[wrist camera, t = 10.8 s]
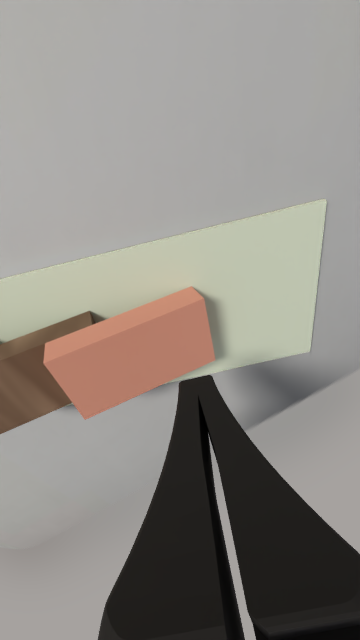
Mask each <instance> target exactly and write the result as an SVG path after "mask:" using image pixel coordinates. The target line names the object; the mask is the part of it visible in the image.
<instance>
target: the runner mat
mask: <svg viewBox="0 0 360 640" xmlns="http://www.w3.org/2000/svg"><path fill="white" fill-rule="evenodd" d="M326 204H327V200H325V199H321V200H317V201H313V202H309V203H305V204H301V205H297V206H293V207H289V208H285V209H281V210H277V211H273V212H269V213H265V214H261V215H257V216H253V217H249V218H245V219H240V220H236V221H232V222H228V223H224V224H220V225H216V226H212V227H208V228H204V229H200V230H196V231H192V232H188V233H184V234H180V235H176V236H172V237H168V238H164V239H160V240H156V241H152V242H148V243H144V244H140V245H136V246H132V247H128V248H124V249H119V250H115V251H111V252H107V253H103V254H99V255H95V256H91V257H87V258H83V259H79V260H75V261H71V262H67V263H63V264H59V265H55V266H51V267H47V268H43V269H39V270H35V271H31V272H27V273H23V274H19V275H15V276H11V277H7V278H3V279H0V344H2V343H5V342H8V341H10V340H13V339H16V338H18V337H21V336H24V335H26V334H29V333H31V332H34V331H37V330H39V329H42V328H45V327H47V326H50V325H53V324H55V323H58V322H61V321H63V320H66V319H69V318H71V317H74V316H77V315H79V314H82V313H85V312H87V311H90V312H91V314H92V316H93V318H94V320H95V322H96V323H98V322H101V321H104V320H106V319H109V318H111V317H114V316H116V315H119V314H122V313H124V312H127V311H129V310H132V309H134V308H137V307H139V306H142V305H145V304H147V303H150V302H152V301H155V300H157V299H160V298H163V297H165V296H168V295H170V294H173V293H175V292H178V291H180V290H183V289H186V288H188V287H191V286H192V287H193V288H194V289H195V290H196V291H197V292H198V293H199V294H200V295H201V296H202V297H203V298H204V300H205V306H206V311H207V316H208V322H209V327H210V333H211V338H212V343H213V349H214V354H215V361H213V362H210V363H208V364H206V365H204V366H202V367H199V368H197V369H195V370H193V371H191V372H188V373H186V374H184V375H182V376H180V377H177V378H175V379H173V380H171V381H169V382H167V383H171V382H176V381H180V380H185V379H189V378H194V377H198V376H203V375H207V374H211V373H216V372H220V371H225V370H229V369H234V368H238V367H243V366H247V365H252V364H256V363H261V362H265V361H269V360H274V359H278V358H283V357H287V356H292V355H296V354H301V353H305V352H310V348H311V339H312V330H313V321H314V312H315V303H316V294H317V285H318V276H319V267H320V258H321V249H322V240H323V231H324V222H325V213H326ZM167 383H164V384H167ZM69 405H73V403H71V404H68V405H66V406H69Z"/></svg>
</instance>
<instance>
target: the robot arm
mask: <svg viewBox="0 0 360 640" xmlns="http://www.w3.org/2000/svg"><path fill="white" fill-rule="evenodd" d="M208 433H209V436H210V440H211V443H212V446H213V450H214V453H215V456H216V460H217V463H218V467H219V472H220V476H221V481H222V486H223V490H224V496H225V501H226V506H227V510H228V515H229V520H230V525H231V530H232V535H233V540H234V545H235V550H236V555H237V560H238V565H239V570H240V575H241V580H242V585H243V590H244V595H245V600H246V605H247V610H248V613H249V616H250V618H251V620H252V623H253V627H254V631H255V636H256V640H360V554H359V553H358V552H357V551H356V550H355V549H354V548H353V547H352V546H351V545H349V544H348V543H347V542H346V541H345V540H344V539H343V538H342V537H341V536H340V535H339V534H337V532H336V531H334V530H333V529H332V528H331V527H330V526H329V525H328V524H327V523H326V522H325V521H324V520H323V519H322V518H321V517H320V516H319V515H318V514H317V513H316V512H315V511H314V510H313V509H312V508H311V507H310V506H309V505H308V504H307V503H306V502H305V501H304V500H303V499H302V498H301V497H300V496H299V495H298V494H297V493H296V492H295V491H294V489H293V488H292V487H291V486H290V485H289V484H288V483H287V482H286V481H285V480H284V479H283V478H282V477H281V476H280V475H279V473H278V472H277V471H276V470H275V469H274V468H273V466H272V465H271V464H270V463H269V462H268V461H267V460H266V458H265V457H264V456H263V455H262V454H261V452H260V451H259V450H258V449H257V447H256V446H255V445H254V444H253V442H252V441H251V440H250V438H249V437H248V436H247V434H246V433H245V432H244V430H243V429H242V428H241V426H240V425H239V423H238V422H237V420H236V419H235V417H234V416H233V414H232V413H231V411H230V410H229V408H228V407H227V405H226V403H225V402H224V400H223V398H222V396H221V395H220V393H219V391H218V389H217V387H216V385H215V382H214V380H213V377H212V376H211V375H207V376H202V377H198V378H193V379H189V380H184V381H181V382H180V383H179V394H178V404H177V410H176V416H175V421H174V427H173V431H172V436H171V440H170V444H169V448H168V452H167V455H166V459H165V462H164V466H163V469H162V472H161V475H160V478H159V481H158V485H157V487H156V490H155V493H154V495H153V498H152V501H151V504H150V506H149V509H148V511H147V514H146V517H145V519H144V522H143V524H142V526H141V528H140V531H139V533H138V536H137V538H136V540H135V543H134V545H133V547H132V549H131V552H130V554H129V556H128V558H127V560H126V562H125V565H124V567H123V569H122V571H121V573H120V575H119V577H118V579H117V581H116V583H115V585H114V587H113V589H112V591H111V593H110V595H109V597H108V600H107V602H106V605H105V608H104V612H103V617H102V621H101V626H100V631H99V636H98V640H245V638H244V633H243V628H242V623H241V618H240V614H239V609H238V604H237V599H236V594H235V590H234V584H233V580H232V575H231V570H230V565H229V560H228V555H227V550H226V545H225V540H224V535H223V530H222V525H221V520H220V515H219V510H218V505H217V500H216V493H215V487H214V478H213V470H212V462H211V453H210V445H209V436H208Z"/></svg>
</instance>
